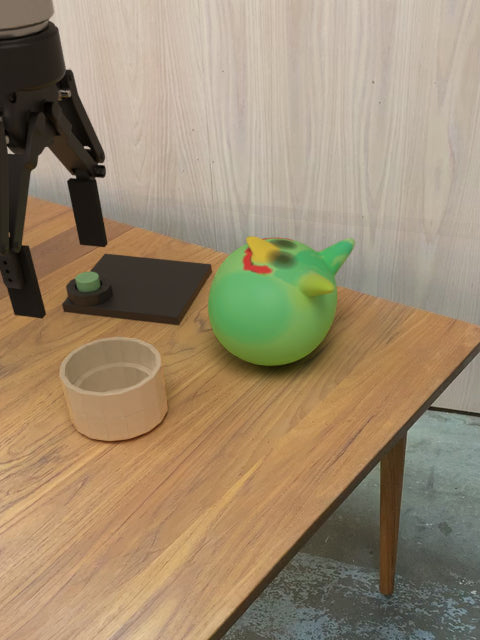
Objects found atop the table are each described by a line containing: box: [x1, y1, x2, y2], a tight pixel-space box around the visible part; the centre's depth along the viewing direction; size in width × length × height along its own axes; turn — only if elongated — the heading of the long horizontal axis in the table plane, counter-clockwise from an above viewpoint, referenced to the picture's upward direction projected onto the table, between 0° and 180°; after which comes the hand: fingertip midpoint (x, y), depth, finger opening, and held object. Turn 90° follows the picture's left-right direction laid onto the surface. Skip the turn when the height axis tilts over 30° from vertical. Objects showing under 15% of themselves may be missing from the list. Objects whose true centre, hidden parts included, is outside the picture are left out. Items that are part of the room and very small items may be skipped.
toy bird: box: [207, 235, 356, 367], centre depth 96 cm, size 18×17×15 cm
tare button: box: [75, 271, 100, 292], centre depth 108 cm, size 3×3×2 cm
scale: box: [61, 253, 213, 326], centre depth 111 cm, size 17×15×3 cm
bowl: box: [59, 336, 169, 442], centre depth 89 cm, size 11×11×7 cm
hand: (64, 277), depth 74 cm, fingers open, 13 cm apart
